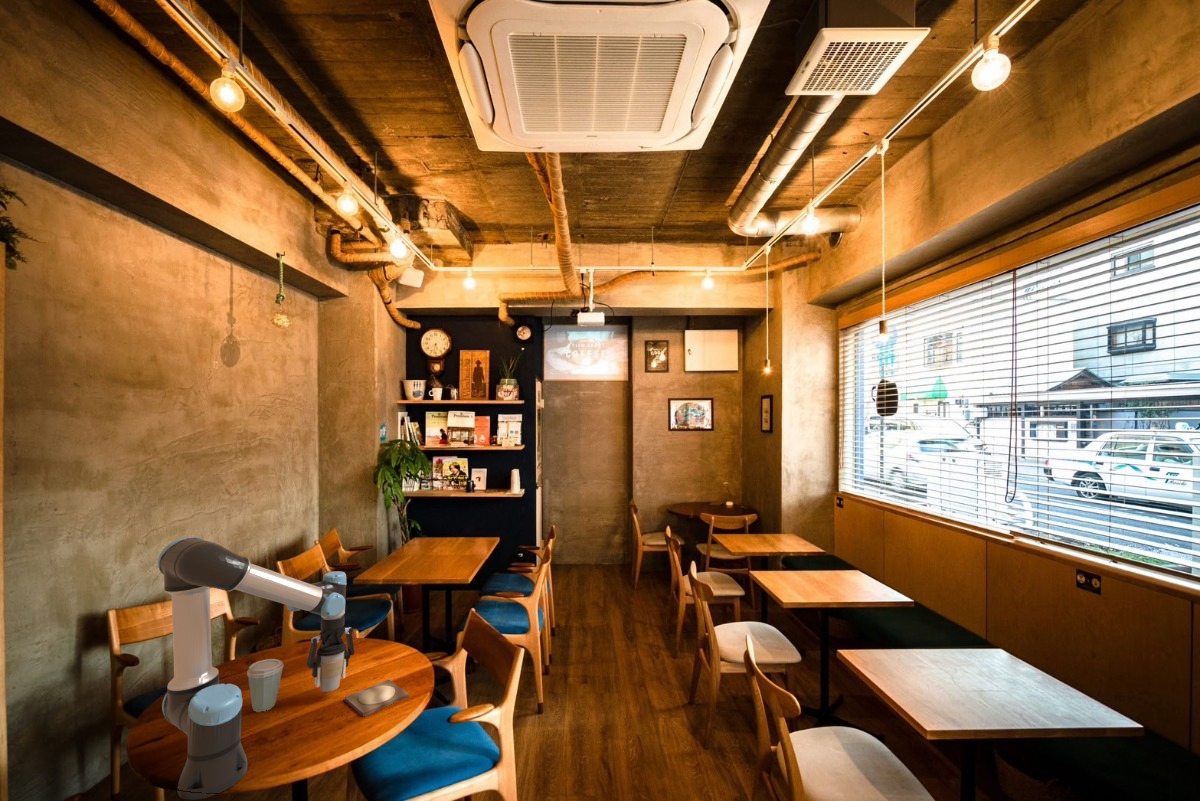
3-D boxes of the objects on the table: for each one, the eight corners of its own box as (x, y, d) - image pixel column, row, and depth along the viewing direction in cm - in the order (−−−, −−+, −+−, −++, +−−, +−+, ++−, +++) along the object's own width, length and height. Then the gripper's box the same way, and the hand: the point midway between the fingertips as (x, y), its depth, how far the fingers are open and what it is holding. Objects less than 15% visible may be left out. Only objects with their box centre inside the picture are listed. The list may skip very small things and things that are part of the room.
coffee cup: (331, 696, 173) (333, 651, 174) (308, 692, 175) (310, 648, 176) (350, 682, 182) (352, 640, 183) (328, 679, 184) (330, 638, 185)
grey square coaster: (363, 717, 166) (363, 712, 166) (344, 700, 176) (344, 696, 176) (408, 697, 178) (408, 692, 178) (388, 682, 188) (388, 678, 188)
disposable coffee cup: (273, 695, 179) (274, 653, 180) (289, 704, 173) (290, 660, 174) (239, 710, 170) (241, 665, 171) (255, 720, 164) (256, 673, 165)
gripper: (305, 627, 170) (301, 696, 168) (366, 611, 185) (364, 674, 184) (297, 621, 175) (294, 688, 173) (358, 606, 190) (355, 667, 189)
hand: (330, 681), depth 178 cm, fingers closed on coffee cup, 8 cm apart
